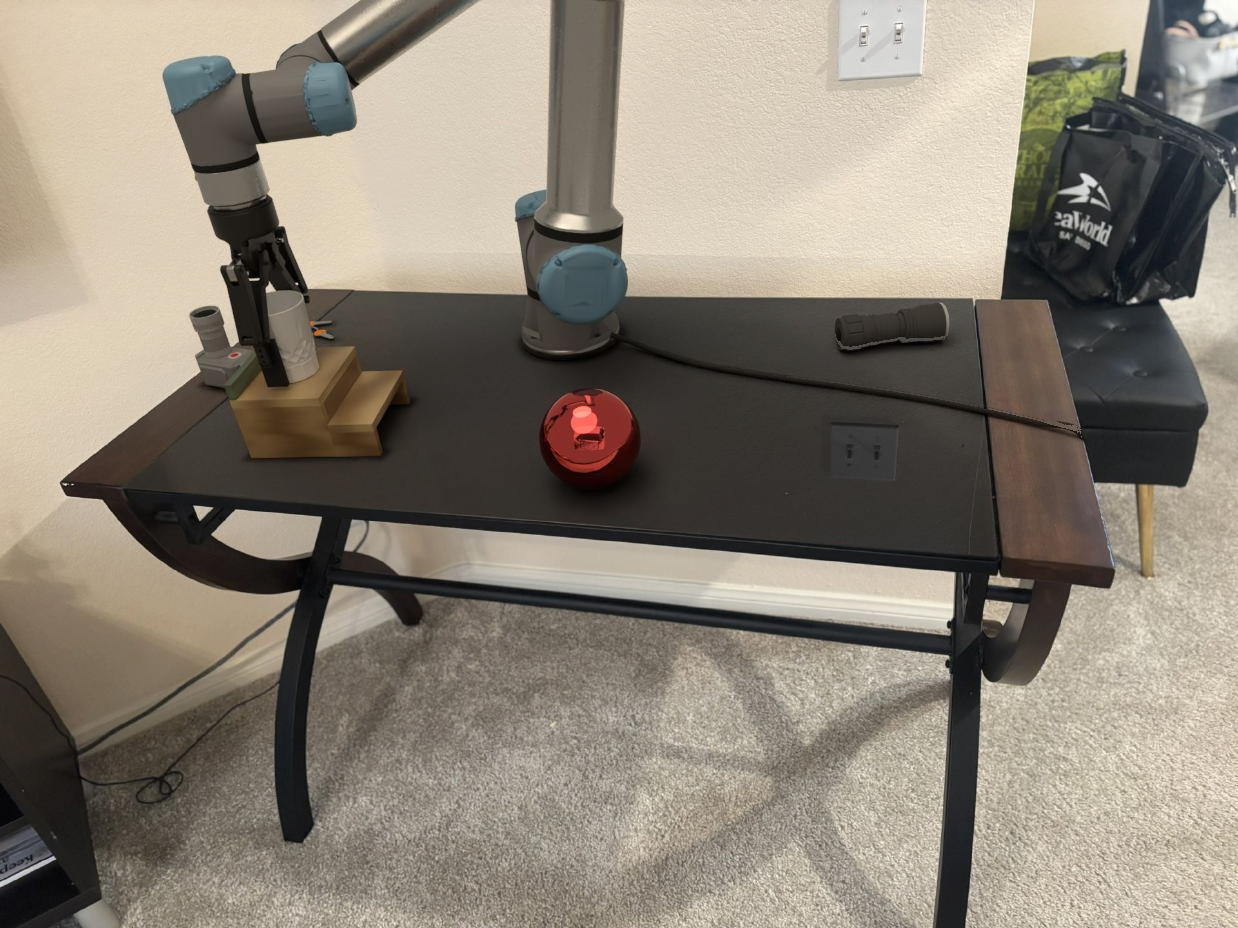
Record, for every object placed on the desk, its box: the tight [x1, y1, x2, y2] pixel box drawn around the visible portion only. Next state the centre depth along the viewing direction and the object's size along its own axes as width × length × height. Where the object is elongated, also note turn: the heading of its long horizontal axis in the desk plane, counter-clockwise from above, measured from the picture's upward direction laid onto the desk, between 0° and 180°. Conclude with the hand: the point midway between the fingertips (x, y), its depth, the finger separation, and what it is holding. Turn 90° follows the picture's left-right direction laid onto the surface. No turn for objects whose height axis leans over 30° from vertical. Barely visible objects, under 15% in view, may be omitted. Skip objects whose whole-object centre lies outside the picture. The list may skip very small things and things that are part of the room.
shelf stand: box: [223, 345, 411, 459], centre depth 122 cm, size 18×14×11 cm
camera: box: [188, 305, 255, 389], centre depth 135 cm, size 9×12×15 cm
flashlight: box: [834, 302, 950, 352], centre depth 130 cm, size 15×5×5 cm, turn 95°
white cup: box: [266, 290, 319, 383], centre depth 118 cm, size 8×8×10 cm
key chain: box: [309, 320, 335, 340], centre depth 151 cm, size 13×7×1 cm, turn 84°
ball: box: [538, 387, 642, 491], centre depth 107 cm, size 12×12×12 cm
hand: (292, 367), depth 120 cm, fingers open, 9 cm apart
